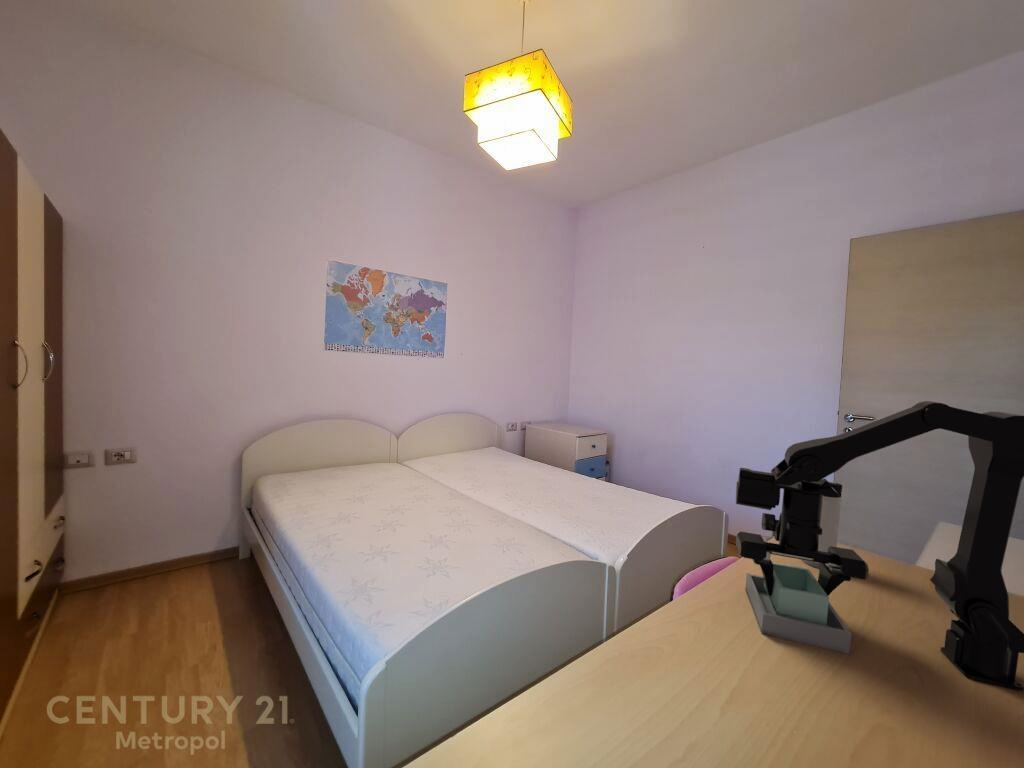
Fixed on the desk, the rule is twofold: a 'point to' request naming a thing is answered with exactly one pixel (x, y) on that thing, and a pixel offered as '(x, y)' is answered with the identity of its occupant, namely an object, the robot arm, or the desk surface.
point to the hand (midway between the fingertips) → (793, 599)
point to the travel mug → (829, 521)
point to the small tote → (798, 595)
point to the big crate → (796, 621)
